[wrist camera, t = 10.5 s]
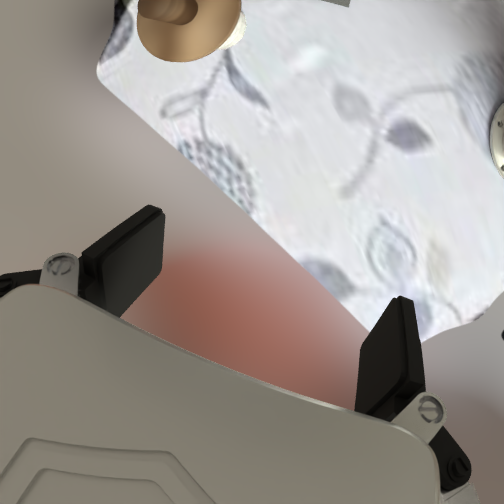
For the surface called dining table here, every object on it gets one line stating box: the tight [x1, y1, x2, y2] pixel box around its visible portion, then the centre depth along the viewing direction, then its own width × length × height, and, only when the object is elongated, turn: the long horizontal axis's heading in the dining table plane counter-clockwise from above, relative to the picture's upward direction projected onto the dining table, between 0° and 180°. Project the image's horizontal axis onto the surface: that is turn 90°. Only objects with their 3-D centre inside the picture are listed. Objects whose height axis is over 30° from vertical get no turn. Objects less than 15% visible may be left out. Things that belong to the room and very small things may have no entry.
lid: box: [137, 0, 241, 62], centre depth 20 cm, size 11×11×6 cm
